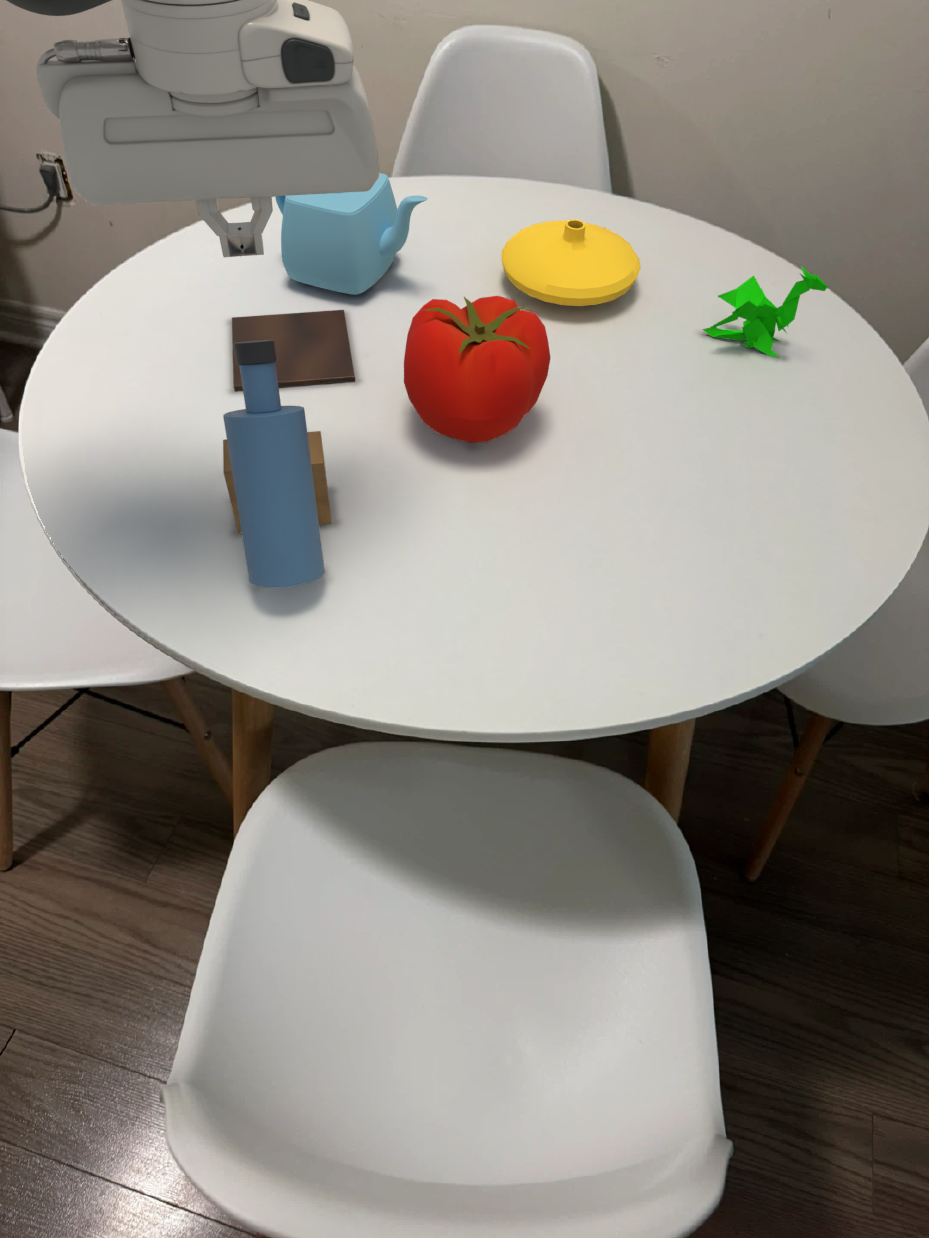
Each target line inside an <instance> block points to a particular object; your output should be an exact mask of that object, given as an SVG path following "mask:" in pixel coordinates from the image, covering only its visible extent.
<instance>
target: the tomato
mask: <svg viewBox="0 0 929 1238" xmlns="http://www.w3.org/2000/svg"><path fill="white" fill-rule="evenodd" d="M463 299H464V301H465V303H466V305H465V306H464V307H460V306H459V305H457V304H455V303H454V302H451V301H450V300H448V299H443V298H441V299H439V298H432V299H430V300H429V301H428V302H425V304H423V305H422V307H420V309H419V310H418V311H417V312H416V313H415V315H413V317H412V320H411V323H410V325H409V328H408V332H407V336H406V342H405V348H404V349H405V350H404V357H403V385H404V388H405V391H406V395H407V397H408V398H407V399H408V400H409V401H410V403H411V406H412V407H413V408H414V410H415V412H416V413H417V414H418V417H419V418H420V419H421V421H422V422H423V424H425V425H426V426H427V427H429V428H430V429H432V431H434V432H435V433H437V434H440V435H442V436H444V437H447V438H451V439H453V440H457V441H462V442H465V443H469V444H477V443H487V442H489V441H494V440H495V439H498V438H500V437H502V436H505V435H506V434H508V433H509V432H511V431H512V430H513V429H515V428H517V427H518V425H519V424H520V422H521V421H522V420H523V418H524V417H525V416H526V415H528V414H529V413H530V412H531V411H532V410H533V408H534V406H535V405H536V403H537V402H538V400H539V397H540V396H541V393H542V390H543V388H544V385H545V383H546V380H547V378H548V375H549V370H550V364H551V352H550V345H549V338H548V334H547V329H546V326H545V324H544V323H543V322H542V320H541V319H540V317H539V316H538V314H537V313H536V312H533V311H529V310H524V309H528V308H530V307H531V305H527V306H519V305H518V303H517V302H516V300H514V299H511V298H507V297H504V296H500V295H492V296H483V297H479V298H477V299H475V300H473V301H472V302H471V301H470V300H469V299H468V298H467V297H466V296H463Z"/></svg>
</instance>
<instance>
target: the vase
mask: <svg viewBox="0 0 929 1238" xmlns="http://www.w3.org/2000/svg"><path fill="white" fill-rule="evenodd" d="M500 257H501V258H500V259H501V264H502V268H503V271H504V273H505V276H506V278H507V280H509V282H510V283H511V284H512V285H513V286H514V287H515V288H516V289H518V290H520V292H523V294H525V295H527V296H529V297H531V298H534V299H537V300H540V301H542V302H546V303H550V304H555V305H560V306H571V307H573V306H574V307H585V306H596V305H602V304H604V303H608V302H612V301H614V300H616V299H617V298H619V297H622V296H624V295H625V294H626V293H627V292H628V291H629V290H630V289H631V288H632V287H633V286H634V284H635V282H636V280H637V279H638V278H639V277H638V276H639V274H640V272H641V262H640V261H641V260H640V258H639V256H638V255H637V253H636V251H635V250H634V248H633V247H632V244H631V243H630V242H628V241H627V240H626V239H625V238H624V237H623V236H622V235H620V234H618V233H616V232H614V231H612V230H611V229H608V228H606V227H603V226H600V225H597V224H594V223H589V222H588V223H587V222H584V221H583V220H581V219H577V218H575V219H574V218H573V219H568V220H551V221H550V220H549V221H544V222H539V223H535V224H530V225H529V226H526V227H525V228H522V229H520V230H519V231H517V232H516V233H515V234H514V235H513V236H512V237H510V238H509V239H508V240H507V241H506V242H505V245H504V246H503V247H502V249H501V256H500Z"/></svg>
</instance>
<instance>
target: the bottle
mask: <svg viewBox="0 0 929 1238" xmlns="http://www.w3.org/2000/svg"><path fill="white" fill-rule="evenodd" d="M233 345H234V352H235V359H236V364H237V365H239V367H240V374H241V380H242V387H243V390H242V393H243V400H244V406H245V408H243V409H236V410H233V411H228V412H225V413H224V414H222V418H223V424H224V431H225V437H226V439H227V443H228V450H229V456H230V462H231V469H232V475H233V481H234V488H235V494H236V500H237V507H238V513H239V519H240V526H241V532H242V533H241V538H242V544H243V551H244V556H245V563H246V569H247V576H248V582H249V583H250V584H251V585H253V586H256V587H260V588H267V589H268V588H269V589H270V588H271V589H272V588H273V589H274V588H277V589H278V588H288V587H295V586H300V585H304V584H308V583H310V582H313V581H316V580H318V579H320V578H321V577H323V576H324V574H325V571H326V570H325V563H324V561H325V560H324V554H323V546H322V539H321V530H320V525H319V521H318V513H317V505H316V497H315V489H314V481H313V474H312V466H311V458H310V450H309V442H308V434H307V432H308V428H307V419H306V411H305V407H304V406H301V405H282V403H281V397H280V396H281V395H280V389H279V388H280V387H278V380H277V373H276V365H275V362H276V361H277V360H278V359H277V352H276V344H275V340H257V341H245V342H236V343H233ZM233 345H232V346H233Z"/></svg>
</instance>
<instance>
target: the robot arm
mask: <svg viewBox="0 0 929 1238" xmlns="http://www.w3.org/2000/svg"><path fill="white" fill-rule="evenodd" d="M3 1H4V2H6V3H8V4H10V5H12V6H14V7H17V8H19V9H22V10H24V11H27V12H30V13H34V14H38V15H40V16H41V15H42V16H49V17H50V16H51V17H65V16H71V15H77V14H81V13H84V12H87V11H89V10H92V9H95V8H96V7H100V6H103V5H104V4H106V3H110V2H111V1H113V0H3ZM120 1H121V6H122V9H123V14H124V17H125V22H126V27H127V31H128V34H129V37H119V38H101V39H100V38H99V39H94V40H90V41H89V40H85V41H82V40H81V41H78V40H76V39H62V40H58V41H54V43H53V48H50V49H48V50H46V51H44V52H43V53H42V54H41V55H40V57H39V59H38V61H37V64H36V78H37V82H38V84H39V87H40V90H41V94H42V96H43V97H42V98H43V100H44V103H45V104H46V106H47V108H48V110H49V111H50V112H51V114H52V115H54V116H55V118H57V119H58V120H59V126H60V135H61V141H62V146H63V147H62V148H63V151H64V157H65V162H66V167H67V171H68V175H69V179H70V182H71V186H72V189H73V191H74V192H75V194H76V195H77V196H79V197H80V198H81V199H82V200H83V201H84V202H85V203H87V204H88V205H90V206H92V207H93V206H94V207H97V206H99V207H100V206H116V205H118V206H119V205H135V204H153V203H173V202H176V203H177V202H191V201H195V205H196V208H197V210H196V211H197V215H198V216H199V217H200V218H201V219H202V221H203V222H204V223H205V224H206V225H207V226H208V227H209V228H210V230H211V231H212V232H213V233H214V235H216V237H219V242H220V247H221V254H222V256H223V258H234V257H235V258H236V257H248V256H251V257H252V256H264V255H265V251H264V241H263V240H264V239H263V233H264V231H265V229H266V226H267V225H268V222H269V220H270V217H271V215H272V213H273V211H274V208H273V197H275V196H288V195H307V194H327V193H346V192H365V191H369V190H370V189H371V188H372V187H373V185H374V184H375V182H376V181H377V179H378V178H379V173H380V160H379V151H378V144H377V138H376V137H377V136H376V133H375V127H374V123H373V117H372V113H371V109H370V103H369V99H368V96H367V93H366V90H365V85H364V83H363V79H362V77H361V75H360V73H359V70H358V68H357V67H356V66H355V64H354V59H355V57H354V46H353V45H354V44H353V38H352V35H351V32H350V29H349V27H348V25H347V23H346V21H345V19H344V17H343V15H342V14H341V13H340V12H339V11H338V10H336V9H335V8H332V7H330V6H327V5H324V4H321V3H319V2H315V1H312V0H120ZM54 57H56V60H51V59H52V58H54ZM248 198H250V202H251V203H250V204H251V208H252V209H251V210H252V211H253V214H252V215H251V216H252V217H251V219H250V221H244V222H228V221H227V219H226V217H224V215H223V213H222V212H220V209H219V200H228V199H230V200H231V199H248Z"/></svg>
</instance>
